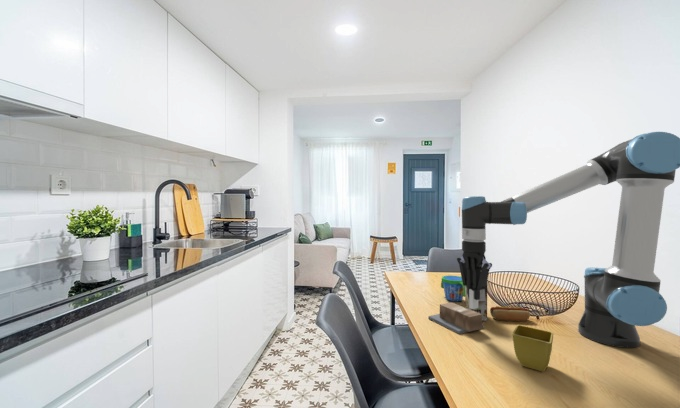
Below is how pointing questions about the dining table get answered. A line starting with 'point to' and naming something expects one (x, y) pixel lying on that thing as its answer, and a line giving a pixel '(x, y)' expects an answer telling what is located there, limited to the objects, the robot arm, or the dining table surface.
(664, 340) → the dining table surface
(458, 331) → the mat
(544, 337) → the flower pot
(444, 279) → the snack cup
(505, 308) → the food
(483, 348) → the dining table surface
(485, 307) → the coffee box
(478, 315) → the walnut block
